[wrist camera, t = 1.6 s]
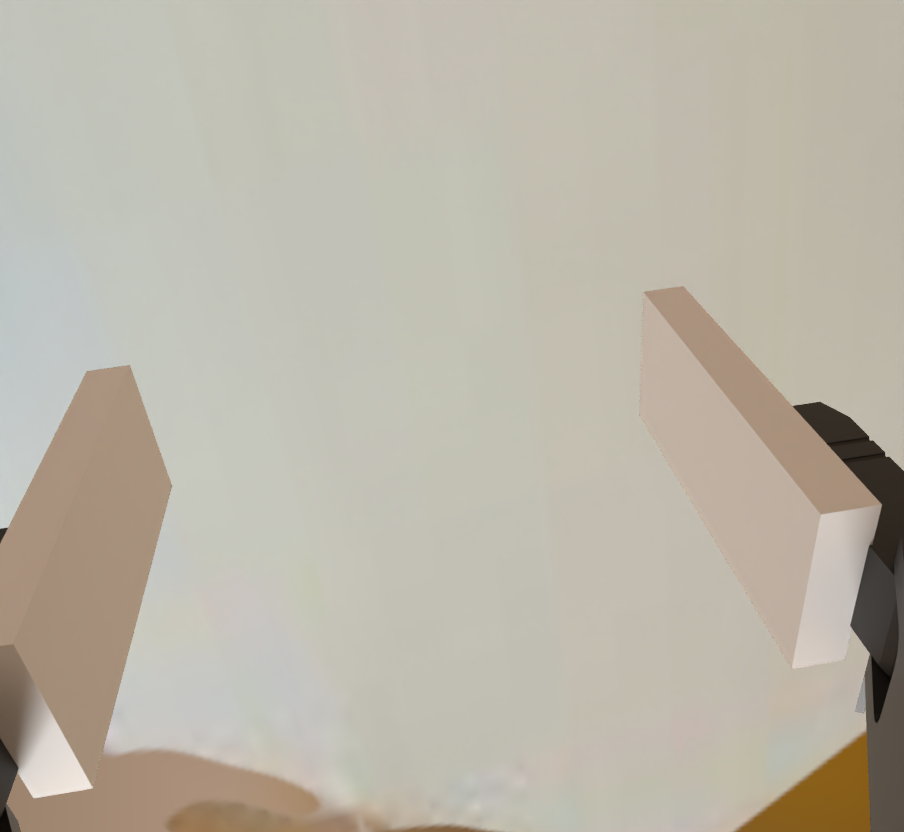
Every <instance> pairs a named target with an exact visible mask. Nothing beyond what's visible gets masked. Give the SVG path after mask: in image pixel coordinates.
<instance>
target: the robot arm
mask: <svg viewBox="0 0 904 832" xmlns="http://www.w3.org/2000/svg"><path fill="white" fill-rule="evenodd" d="M639 416H640V417H641V419H642V421H643V422H644V424H645V426H646V427H647V429H648V431H649V432H650V434H651V436H652V437H653V439H654V441H655V442H656V444H657V446H658V447H659V449H660V451H661V452H662V454H663V456H664V457H665V459H666V461H667V462H668V464H669V466H670V467H671V469H672V471H673V472H674V474H675V475H676V477H677V479H678V480H679V482H680V484H681V485H682V487H683V489H684V490H685V492H686V494H687V495H688V497H689V499H690V500H691V502H692V504H693V505H694V507H695V509H696V510H697V512H698V514H699V515H700V517H701V519H702V520H703V522H704V524H705V525H706V527H707V529H708V530H709V532H710V534H711V535H712V537H713V539H714V540H715V542H716V544H717V545H718V547H719V549H720V550H721V552H722V554H723V555H724V557H725V559H726V560H727V562H728V564H729V565H730V567H731V569H732V570H733V572H734V574H735V575H736V577H737V579H738V580H739V582H740V584H741V585H742V587H743V589H744V590H745V592H746V594H747V595H748V597H749V599H750V600H751V602H752V604H753V605H754V607H755V609H756V610H757V612H758V614H759V615H760V617H761V619H762V620H763V622H764V624H765V625H766V627H767V629H768V630H769V632H770V634H771V635H772V637H773V639H774V640H775V642H776V644H777V645H778V647H779V649H780V650H781V652H782V654H783V655H784V657H785V659H786V660H787V662H788V664H789V665H790V667H791V669H794V668H799V667H805V666H811V665H817V664H823V663H829V662H835V661H840V660H845V657H846V653H847V649H848V645H849V641H850V637H851V632H852V629H853V630H854V632H855V633H856V635H857V636H858V637H859V639H860V640H861V642H862V643H863V644H864V646H865V647H866V649H867V650H868V651H869V653H870V656H869V660H868V664H867V667H866V671H865V675H864V679H863V683H862V687H861V690H860V694H859V698H858V702H857V706H856V710H855V712H859V713H864V712H865V708H866V722H867V748H868V774H869V799H870V825H871V832H904V471H903V470H902V469H901V468H900V467H899V466H898V465H897V464H896V463H895V462H894V461H893V460H892V459H891V458H890V457H886V456H885V452H884V451H883V450H882V449H881V448H880V447H879V446H878V445H877V444H876V443H875V442H874V441H870V440H869V436H868V435H867V434H866V433H865V432H864V431H863V430H862V429H861V428H860V427H859V426H858V425H857V424H856V423H855V422H854V421H853V420H852V419H851V418H850V417H848V416H846V415H844V414H843V413H841V412H839V411H837V410H835V409H833V408H831V407H829V406H827V405H825V404H823V403H821V402H816V403H809V404H803V405H796V406H792V405H791V404H790V403H789V402H788V401H787V400H786V399H785V398H784V396H783V395H782V394H781V393H780V392H779V391H778V390H777V389H776V388H775V387H774V385H773V384H772V383H771V382H770V381H769V380H768V379H767V378H766V377H765V376H764V374H763V373H762V372H761V371H760V370H759V369H758V368H757V367H756V366H755V365H754V364H753V362H752V361H751V360H750V359H749V358H748V357H747V356H746V355H745V354H744V353H743V351H742V350H741V349H740V348H739V347H738V346H737V345H736V344H735V343H734V342H733V340H732V339H731V338H730V337H729V336H728V335H727V334H726V333H725V332H724V331H723V329H722V328H721V327H720V326H719V325H718V324H717V323H716V322H715V321H714V320H713V318H712V317H711V316H710V315H709V314H708V313H707V312H706V311H705V310H704V309H703V307H702V306H701V305H700V304H699V303H698V302H697V301H696V300H695V299H694V298H693V296H692V295H691V294H690V293H689V292H688V291H687V290H686V289H685V288H684V287H683V286H681V287H674V288H667V289H660V290H653V291H646V292H643V319H642V348H641V378H640V408H639ZM171 487H172V485H171V482H170V479H169V476H168V473H167V470H166V468H165V465H164V462H163V459H162V456H161V453H160V450H159V447H158V445H157V442H156V439H155V436H154V433H153V430H152V427H151V425H150V422H149V419H148V416H147V413H146V410H145V407H144V405H143V402H142V399H141V396H140V393H139V390H138V387H137V384H136V382H135V379H134V376H133V373H132V370H131V367H130V365H127V366H120V367H113V368H106V369H99V370H92V371H87V372H86V374H85V376H84V378H83V380H82V382H81V384H80V386H79V388H78V390H77V392H76V394H75V396H74V398H73V400H72V402H71V404H70V406H69V408H68V410H67V412H66V414H65V416H64V418H63V420H62V422H61V424H60V426H59V428H58V430H57V432H56V434H55V436H54V438H53V440H52V442H51V444H50V446H49V448H48V450H47V452H46V454H45V456H44V458H43V460H42V462H41V463H40V465H39V467H38V469H37V471H36V473H35V475H34V477H33V479H32V481H31V483H30V485H29V487H28V489H27V491H26V493H25V495H24V497H23V499H22V501H21V503H20V505H19V507H18V509H17V511H16V513H15V515H14V517H13V519H12V521H11V523H10V525H9V527H8V528H3V529H0V832H21V831H20V827H19V824H18V821H17V819H16V818H15V816H14V815H13V813H12V812H11V810H10V808H9V807H8V805H7V804H6V802H7V800H8V797H9V794H10V791H11V788H12V785H13V782H14V780H15V777H16V774H17V772H18V774H19V776H20V777H21V779H22V780H23V782H24V784H25V785H26V787H27V788H28V790H29V792H30V793H31V794H32V796H33V798H38V797H44V796H50V795H56V794H62V793H67V792H73V791H80V790H85V789H91V788H93V786H94V782H95V778H96V775H97V771H98V767H99V763H100V759H101V755H102V752H103V748H104V744H105V740H106V736H107V732H108V729H109V725H110V721H111V717H112V713H113V709H114V706H115V702H116V698H117V694H118V690H119V686H120V683H121V679H122V675H123V671H124V667H125V663H126V660H127V656H128V652H129V648H130V644H131V641H132V637H133V633H134V629H135V625H136V621H137V618H138V614H139V610H140V606H141V602H142V598H143V595H144V591H145V587H146V583H147V579H148V575H149V572H150V568H151V564H152V560H153V556H154V552H155V549H156V545H157V541H158V537H159V533H160V529H161V526H162V522H163V518H164V514H165V510H166V507H167V503H168V499H169V495H170V491H171Z"/></svg>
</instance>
